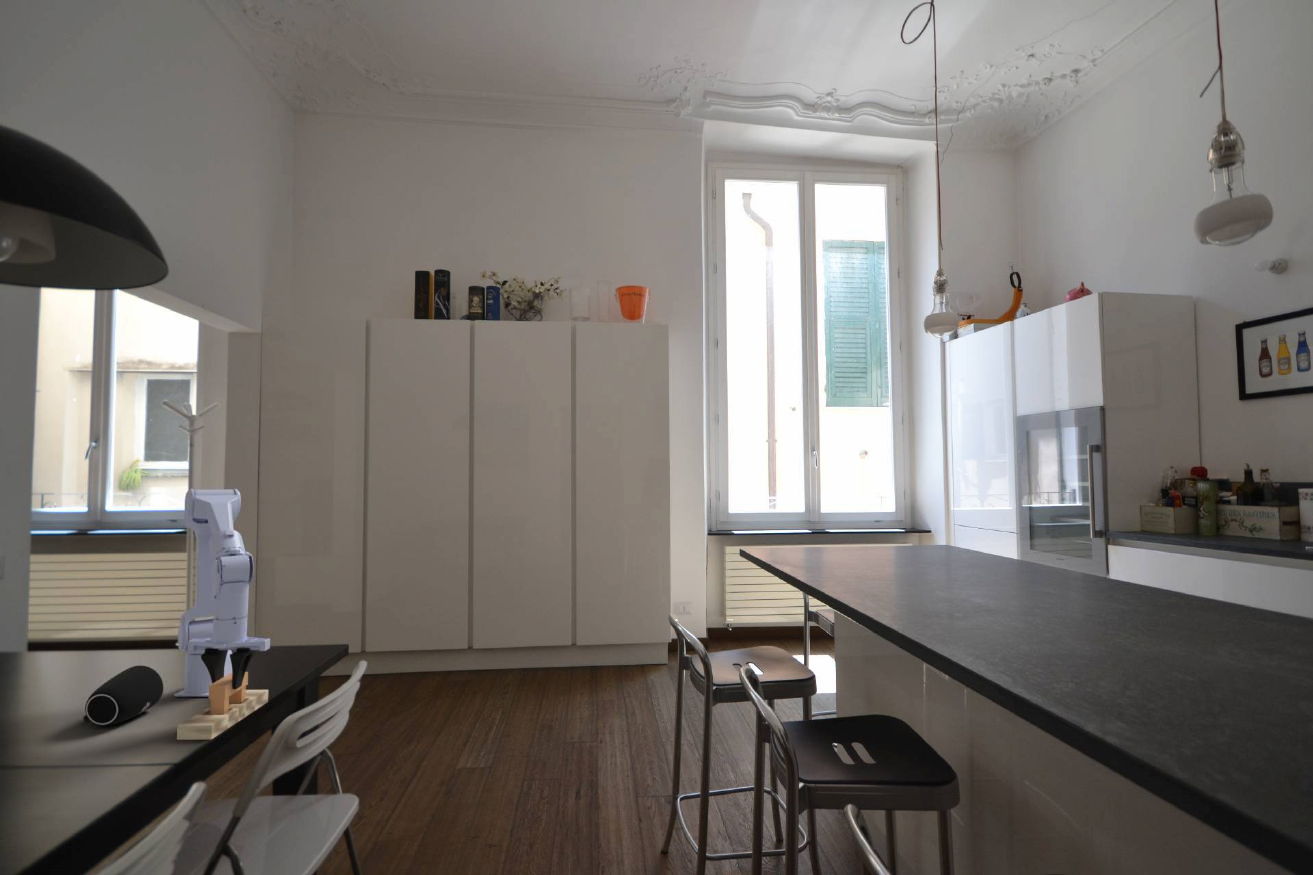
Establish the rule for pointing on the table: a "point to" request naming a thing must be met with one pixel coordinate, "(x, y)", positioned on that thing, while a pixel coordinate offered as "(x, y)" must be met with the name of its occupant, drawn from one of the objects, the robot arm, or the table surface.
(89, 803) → the table surface
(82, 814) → the table surface
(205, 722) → the rail
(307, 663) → the table surface
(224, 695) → the clip
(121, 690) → the black cylindrical speaker
